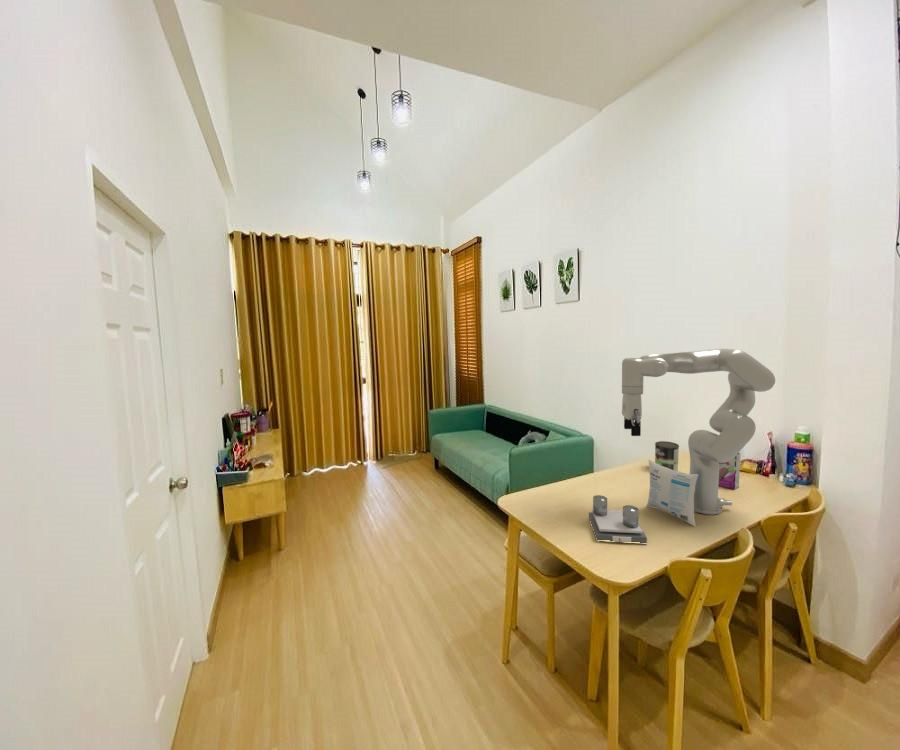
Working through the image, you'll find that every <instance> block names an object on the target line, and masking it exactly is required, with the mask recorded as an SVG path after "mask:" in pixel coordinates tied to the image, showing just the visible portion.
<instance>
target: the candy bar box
mask: <svg viewBox="0 0 900 750" xmlns="http://www.w3.org/2000/svg"><path fill="white" fill-rule="evenodd" d="M741 454H742V453H741V451H740V452H739V453H738V454H737V455H736V456H735V457H734V458H733V459H731V460H730V461H728V462H725V463H719V487H723V488H726V489H730V490H734V491H735V490H736V489H738V488H739V487H740V469H741Z"/></svg>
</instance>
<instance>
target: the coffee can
mask: <svg viewBox="0 0 900 750" xmlns="http://www.w3.org/2000/svg"><path fill="white" fill-rule="evenodd" d="M654 445H655V447H654V449H655V450H654V456H655V457H654V462H655V463H657V464H659V465H661V466H664V467H666V468H669V469H671V470H674V471H678V472H679V452H680V451H679V447H680V444H677V443H675V442H672V441H663V440H662V441H661V440H660V441H656V442H655V443H654Z"/></svg>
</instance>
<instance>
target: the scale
mask: <svg viewBox="0 0 900 750" xmlns="http://www.w3.org/2000/svg"><path fill="white" fill-rule="evenodd" d="M589 518H590V520H589V522H590V521H591V523H590V525H591V524H592V526H591V528H592V527H593V529H594V531H593V533H594V532H595V534H594V536H595V535H596V537H595V538H597V540H610V541H615V542H640V543H647V544H648V537H647V535H646V533H645V532H644V530H643V529H642V527H641V525H640V524H639V523H638V527H637V528H628V527H626V526H624V525H623V510H608V509H607V516H603V517H602V516H597V515H595V514H594V513H593V509H592V510H591V511H589V512H588V519H589ZM593 529H592V530H593ZM597 540H596V541H597Z"/></svg>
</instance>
